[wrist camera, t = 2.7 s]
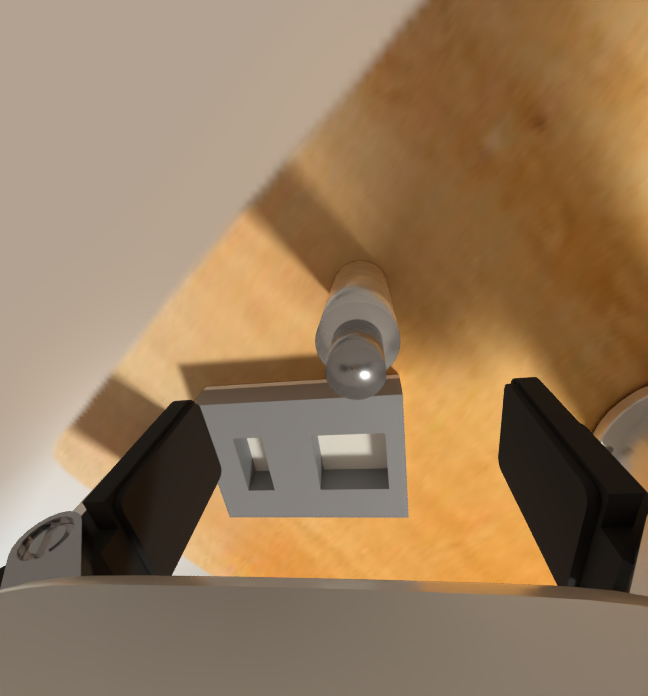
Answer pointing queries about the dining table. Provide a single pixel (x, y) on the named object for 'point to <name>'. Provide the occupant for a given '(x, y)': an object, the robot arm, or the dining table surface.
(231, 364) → the dining table surface
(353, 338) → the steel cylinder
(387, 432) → the socket board
